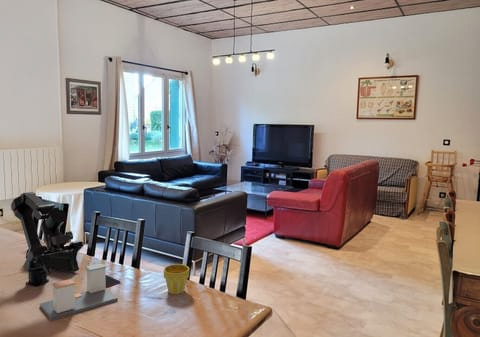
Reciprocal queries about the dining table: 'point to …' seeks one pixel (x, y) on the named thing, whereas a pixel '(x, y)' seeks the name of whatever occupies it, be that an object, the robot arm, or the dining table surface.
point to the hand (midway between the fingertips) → (62, 271)
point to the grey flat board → (81, 303)
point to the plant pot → (176, 278)
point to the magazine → (61, 262)
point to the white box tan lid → (63, 295)
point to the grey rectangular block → (96, 278)
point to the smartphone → (110, 281)
